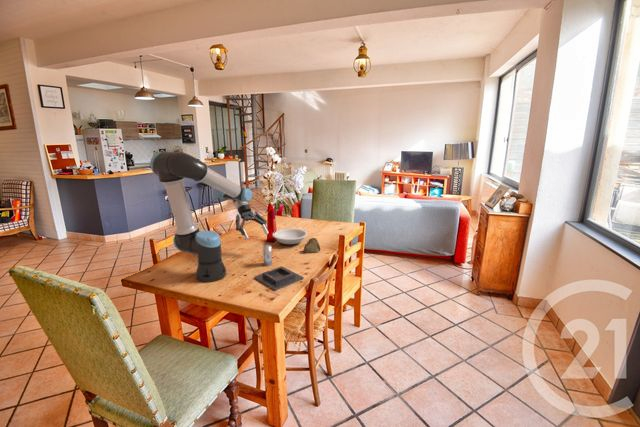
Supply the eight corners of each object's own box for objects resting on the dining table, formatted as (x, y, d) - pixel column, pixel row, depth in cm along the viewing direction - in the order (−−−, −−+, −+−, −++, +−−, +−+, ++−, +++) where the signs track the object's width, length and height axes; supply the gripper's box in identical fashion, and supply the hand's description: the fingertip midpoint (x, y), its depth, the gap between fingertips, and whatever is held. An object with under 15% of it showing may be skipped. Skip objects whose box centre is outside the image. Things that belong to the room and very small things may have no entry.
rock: (298, 249, 189) (312, 250, 184) (302, 236, 193) (315, 237, 187) (307, 255, 198) (320, 256, 193) (310, 242, 201) (323, 243, 196)
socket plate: (274, 290, 143) (274, 285, 143) (254, 278, 156) (254, 272, 155) (303, 279, 155) (303, 273, 155) (282, 268, 168) (282, 263, 167)
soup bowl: (266, 246, 202) (265, 236, 200) (283, 235, 224) (283, 226, 222) (298, 251, 193) (298, 241, 192) (312, 239, 215) (312, 230, 213)
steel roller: (266, 266, 170) (265, 248, 167) (261, 264, 173) (260, 246, 170) (274, 264, 173) (273, 246, 170) (269, 261, 176) (268, 244, 174)
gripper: (258, 207, 195) (272, 235, 188) (222, 214, 178) (236, 244, 171) (262, 200, 189) (277, 228, 183) (225, 207, 173) (240, 238, 166)
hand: (257, 236), depth 177 cm, fingers open, 13 cm apart
